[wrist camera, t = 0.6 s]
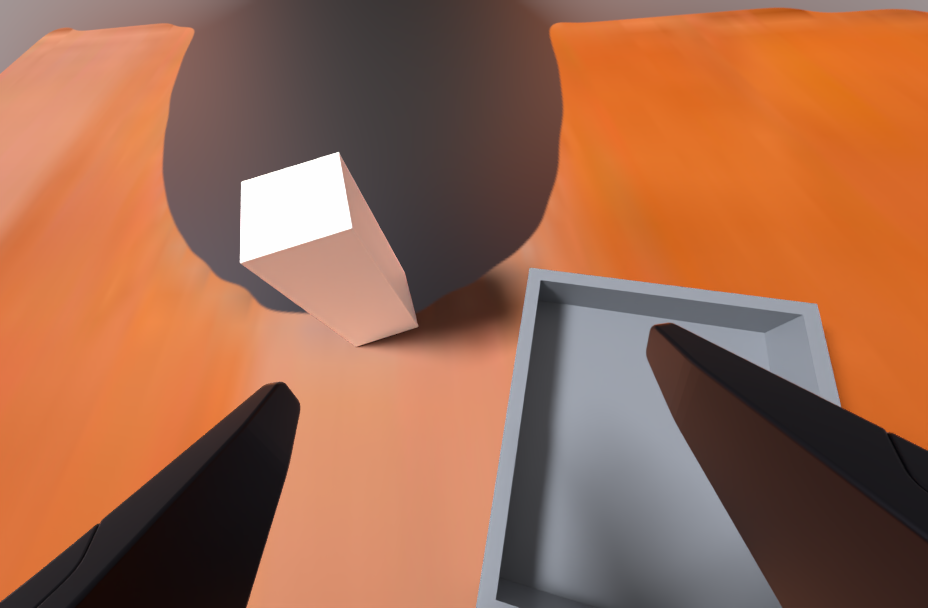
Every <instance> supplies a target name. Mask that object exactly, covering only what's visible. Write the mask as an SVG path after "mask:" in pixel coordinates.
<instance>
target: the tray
mask: <svg viewBox="0 0 928 608" xmlns="http://www.w3.org/2000/svg"><path fill="white" fill-rule="evenodd" d="M662 323H674V324H676V325H678V326H680V327H682V328H684V329H686V330H688V331H690V332H692V333H694V334H696V335H698V336H700V337H702V338H704V339H706V340H708V341H710V342H712V343H714V344H716V345H718V346H720V347H722V348H724V349H726V350H728V351H730V352H732V353H734V354H736V355H738V356H740V357H742V358H744V359H746V360H748V361H750V362H752V363H754V364H756V365H758V366H760V367H762V368H764V369H766V370H768V371H770V372H772V373H774V374H776V375H778V376H780V377H782V378H784V379H786V380H788V381H790V382H792V383H794V384H796V385H798V386H800V387H802V388H804V389H806V390H808V391H810V392H812V393H814V394H816V395H818V396H820V397H822V398H824V399H826V400H828V401H830V402H832V403H834V404H836V405H838V406H840V407H841V404H840V400H839V396H838V392H837V387H836V383H835V379H834V374H833V370H832V366H831V361H830V357H829V353H828V349H827V344H826V340H825V336H824V331H823V327H822V323H821V319H820V314H819V310H818V306H817V304H813V303H805V302H797V301H789V300H781V299H773V298H765V297H757V296H749V295H742V294H734V293H726V292H718V291H710V290H702V289H694V288H686V287H678V286H670V285H662V284H655V283H647V282H639V281H631V280H623V279H615V278H607V277H599V276H591V275H583V274H575V273H567V272H560V271H552V270H544V269H536V268H530V269H529V275H528V282H527V288H526V294H525V301H524V307H523V313H522V320H521V326H520V332H519V339H518V345H517V351H516V358H515V364H514V370H513V377H512V383H511V389H510V396H509V402H508V408H507V415H506V421H505V427H504V434H503V440H502V446H501V452H500V459H499V465H498V471H497V478H496V484H495V490H494V497H493V503H492V509H491V516H490V522H489V528H488V535H487V541H486V547H485V554H484V560H483V566H482V573H481V579H480V585H479V592H478V598H477V604H476V608H782V606H781V605H780V603H779V601H778V600H777V598H776V596H775V594H774V593H773V591H772V589H771V587H770V586H769V584H768V582H767V581H766V579H765V577H764V575H763V574H762V572H761V570H760V568H759V567H758V565H757V563H756V562H755V560H754V558H753V556H752V555H751V553H750V551H749V549H748V548H747V546H746V544H745V542H744V541H743V539H742V537H741V536H740V534H739V532H738V530H737V529H736V527H735V525H734V523H733V522H732V520H731V518H730V517H729V515H728V513H727V511H726V510H725V508H724V506H723V504H722V503H721V501H720V499H719V498H718V496H717V494H716V492H715V491H714V489H713V487H712V485H711V484H710V482H709V480H708V479H707V477H706V475H705V473H704V472H703V470H702V468H701V466H700V465H699V463H698V461H697V460H696V458H695V456H694V454H693V453H692V451H691V449H690V447H689V446H688V444H687V442H686V440H685V439H684V437H683V435H682V434H681V432H680V430H679V428H678V426H677V425H676V423H675V421H674V419H673V417H672V415H671V413H670V410H669V408H668V406H667V404H666V401H665V399H664V397H663V394H662V392H661V390H660V388H659V385H658V383H657V381H656V378H655V376H654V374H653V372H652V369H651V367H650V365H649V362H648V360H647V357H646V348H647V342H648V337H649V332H650V328H651V327H652V326H653V325H656V324H662Z"/></svg>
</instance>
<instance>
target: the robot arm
mask: <svg viewBox="0 0 928 608" xmlns="http://www.w3.org/2000/svg"><path fill="white" fill-rule="evenodd" d="M646 357H647V360H648V362H649V365H650V367H651V369H652V372H653V374H654V376H655V378H656V381H657V383H658V385H659V388H660V390H661V392H662V394H663V397H664V399H665V401H666V404H667V406H668V408H669V410H670V413H671V415H672V417H673V419H674V421H675V423H676V425H677V426H678V428H679V430H680V432H681V434H682V435H683V437H684V439H685V440H686V442H687V444H688V446H689V447H690V449H691V451H692V453H693V454H694V456H695V458H696V460H697V461H698V463H699V465H700V466H701V468H702V470H703V472H704V473H705V475H706V477H707V479H708V480H709V482H710V484H711V485H712V487H713V489H714V491H715V492H716V494H717V496H718V498H719V499H720V501H721V503H722V504H723V506H724V508H725V510H726V511H727V513H728V515H729V517H730V518H731V520H732V522H733V523H734V525H735V527H736V529H737V530H738V532H739V534H740V536H741V537H742V539H743V541H744V542H745V544H746V546H747V548H748V549H749V551H750V553H751V555H752V556H753V558H754V560H755V562H756V563H757V565H758V567H759V568H760V570H761V572H762V574H763V575H764V577H765V579H766V581H767V582H768V584H769V586H770V587H771V589H772V591H773V593H774V594H775V596H776V598H777V600H778V601H779V603H780V605H781V606H782V608H928V450H926V449H924V448H922V447H920V446H918V445H916V444H914V443H912V442H910V441H908V440H906V439H904V438H902V437H900V436H898V435H896V434H894V433H890V432H888V433H887V432H886V431H885V429H883V428H881V427H879V426H877V425H875V424H873V423H871V422H869V421H867V420H865V419H863V418H861V417H859V416H857V415H855V414H853V413H852V412H850V411H848V410H846V409H844V408H842V407H840V406H838V405H836V404H834V403H832V402H830V401H828V400H826V399H824V398H822V397H820V396H818V395H816V394H814V393H812V392H810V391H808V390H806V389H804V388H802V387H800V386H798V385H796V384H794V383H792V382H790V381H788V380H786V379H784V378H782V377H780V376H778V375H776V374H774V373H772V372H770V371H768V370H766V369H764V368H762V367H760V366H758V365H756V364H754V363H752V362H750V361H748V360H746V359H744V358H742V357H740V356H738V355H736V354H734V353H732V352H730V351H728V350H726V349H724V348H722V347H720V346H718V345H716V344H714V343H712V342H710V341H708V340H706V339H704V338H702V337H700V336H698V335H696V334H694V333H692V332H690V331H688V330H686V329H684V328H682V327H680V326H678V325H676V324H674V323H662V324H656V325H653V326H652V327H651V328H650V332H649V337H648V342H647V348H646ZM299 414H300V403H299V401H298V399H297V398H296V396H295V395H294V394H293V393H292V391H291V390H290V389H289V387H288V386H287V385H286V384H285V383H283V382H275V383H268V384H266V385H264V386H262V387H261V388H260V389H259V390H258V391H256V392H255V393H254V394H253V395H252V396H250V397H249V398H248V399H247V400H246V401H244V402H243V403H242V404H241V405H240V406H238V407H237V408H236V409H235V410H234V411H232V412H231V413H230V414H229V415H228V416H226V417H225V418H224V419H223V420H222V421H220V422H219V423H218V424H217V425H216V426H214V427H213V428H212V429H211V430H210V431H208V432H207V433H206V434H205V435H203V436H202V437H201V438H200V439H199V440H197V441H196V442H195V443H194V444H193V445H191V446H190V447H189V448H188V449H187V450H185V451H184V452H183V453H182V454H181V455H179V456H178V457H177V458H176V459H175V460H173V461H172V462H171V463H170V464H169V465H167V466H166V467H165V468H164V469H163V470H161V471H160V472H159V473H158V474H157V475H155V476H154V477H153V478H152V479H151V480H149V481H148V482H147V483H146V484H145V485H143V486H142V487H141V488H140V489H139V490H137V491H136V492H135V493H134V494H133V495H131V496H130V497H129V498H128V499H127V500H125V501H124V502H123V503H122V504H120V505H119V506H118V507H117V508H116V509H114V510H113V511H112V512H111V513H110V514H108V515H107V516H106V517H105V518H104V519H102V521H101V522H100V523H99V524H96V525H95V526H94V527H93V528H91V529H90V530H89V531H88V532H87V533H85V534H84V535H83V536H82V537H81V538H80V539H78V540H77V541H76V542H75V543H74V544H72V545H71V546H70V547H69V548H67V549H66V550H65V551H64V552H62V553H61V554H60V555H59V556H58V557H56V558H55V559H54V560H53V561H51V562H50V563H49V564H48V565H47V566H45V567H44V568H43V569H42V570H40V571H39V572H38V573H37V574H35V575H34V576H33V577H32V578H30V579H29V580H28V581H26V582H25V583H24V584H23V585H21V586H20V587H19V588H18V589H16V590H15V591H14V592H12V593H11V594H10V595H9V596H7V597H6V598H5V599H4V600H2V601H1V602H0V608H246V607H247V604H248V601H249V597H250V594H251V591H252V587H253V584H254V581H255V578H256V574H257V571H258V568H259V564H260V561H261V558H262V555H263V551H264V548H265V545H266V541H267V538H268V535H269V531H270V528H271V525H272V522H273V518H274V515H275V512H276V508H277V505H278V502H279V499H280V495H281V492H282V489H283V485H284V482H285V479H286V475H287V472H288V468H289V463H290V459H291V454H292V449H293V444H294V439H295V434H296V429H297V424H298V419H299Z"/></svg>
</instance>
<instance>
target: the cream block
mask: <svg viewBox="0 0 928 608" xmlns="http://www.w3.org/2000/svg"><path fill="white" fill-rule="evenodd" d="M240 240H241V241H240V263H241V264H242V265H243V266H245V267H246V268H248V269H249V270H250V271H252V272H253V273H254V274H256V275H257V276H259V277H260V278H261V279H263V280H264V281H265V282H267V283H268V284H270V285H271V286H272V287H274V288H275V289H277V290H278V291H279V292H281V293H282V294H284V295H285V296H286V297H288V298H289V299H290V300H292V301H293V302H295V303H296V304H297V305H299V306H300V307H301V308H303V309H304V310H305V311H307V312H308V313H310V314H311V315H312V316H314V317H315V318H316V319H318V320H319V321H321V322H322V323H323V324H325V325H326V326H327V327H329V328H330V329H332V330H333V331H334V332H336V333H337V334H339V335H340V336H341V337H343V338H344V339H345V340H347V341H348V342H350V343H351V344H352V345H354V346H355V347H357V346H360V345H363V344H367V343H370V342H373V341H376V340H379V339H382V338H385V337H388V336H392V335H395V334H398V333H401V332H404V331H407V330H410V329H413V328H417V327H418V323H417V319H416V315H415V311H414V307H413V303H412V299H411V295H410V291H409V287H408V283H407V279H406V275H405V272H404V271H403V269H402V267H401V265H400V263H399V261H398V260H397V258H396V256H395V255H394V252H393V251H392V249H391V247H390V245H389V243H388V241H387V240H386V238H385V236H384V234H383V232H382V230H381V229H380V227H379V225H378V223H377V222H376V220H375V218H374V216H373V214H372V212H371V210H370V209H369V207H368V205H367V203H366V201H365V200H364V198H363V196H362V194H361V192H360V190H359V188H358V187H357V185H356V183H355V181H354V179H353V178H352V176H351V174H350V172H349V170H348V169H347V167H346V165H345V163H344V161H343V159H342V158H341V156H340V154H339V153H335V154H331V155H328V156H325V157H321V158H318V159H315V160H312V161H308V162H305V163H302V164H298V165H295V166H292V167H289V168H285V169H282V170H279V171H276V172H272V173H269V174H266V175H262V176H259V177H256V178H253V179H250V180H246V181H243V182H241V236H240Z"/></svg>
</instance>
